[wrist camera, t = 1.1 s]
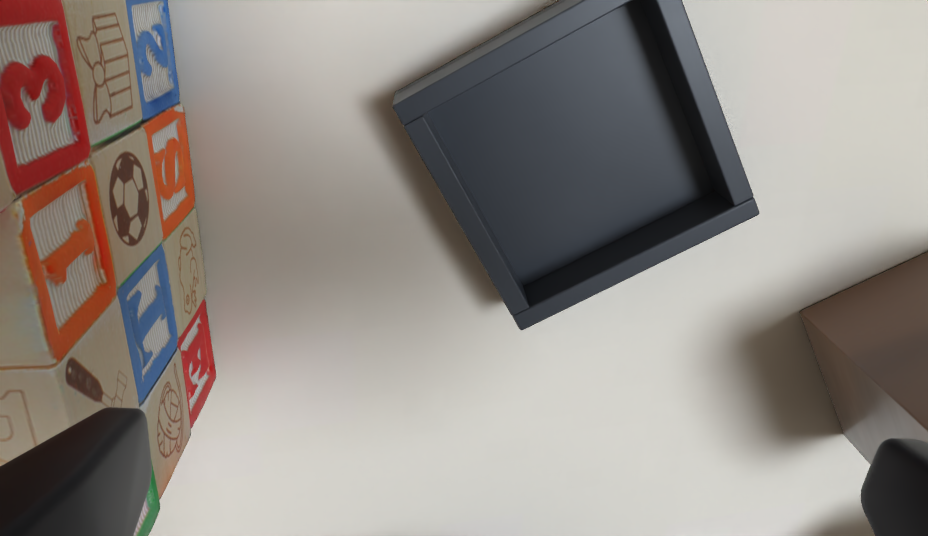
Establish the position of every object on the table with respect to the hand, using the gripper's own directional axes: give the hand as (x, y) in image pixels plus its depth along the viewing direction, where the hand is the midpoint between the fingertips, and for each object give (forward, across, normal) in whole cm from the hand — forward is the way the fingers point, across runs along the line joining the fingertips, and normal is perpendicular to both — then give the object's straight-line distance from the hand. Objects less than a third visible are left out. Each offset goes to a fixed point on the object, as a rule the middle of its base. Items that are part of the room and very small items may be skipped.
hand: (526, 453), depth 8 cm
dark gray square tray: (+14, -3, -1) cm, 14 cm away
